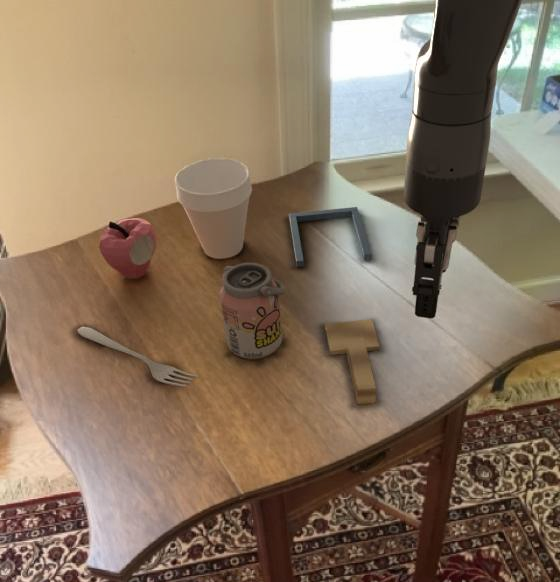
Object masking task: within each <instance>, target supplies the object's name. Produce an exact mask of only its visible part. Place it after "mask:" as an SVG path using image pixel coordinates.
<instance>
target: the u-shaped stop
mask: <svg viewBox="0 0 560 582" xmlns="http://www.w3.org/2000/svg"><path fill="white" fill-rule="evenodd" d="M341 218H342V219H343V218H351V219H352V224H353V226H354V231H355V233H356V237H357V241H358V244H359V248H360V251H361V254H362V258H363V261H371V260H372V252H371V248H370V246H369V241H368V238H367V235H366V232H365V228H364V225H363V221H362V219H361V215H360V213H359V209H358V206H351V207H342V208H341V207H340V208H333V209H323V210H312V211H311V210H310V211H301V212H292V213H288V219H289V226H290V233H291V239H292V245H293V246H292V247H293V252H294V257H295V264H296V268H304V267H305V260H304V254H303V249H302V243H301V237H300V230H299V224H298V223H301V222H310V221H321V220H329V219H331V220H332V219H341Z"/></svg>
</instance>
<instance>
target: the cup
mask: <svg viewBox="0 0 560 582" xmlns="http://www.w3.org/2000/svg"><path fill="white" fill-rule="evenodd" d="M251 180H252V179H251V171H250V168H249V167H248V166H247V164H245V163H243V162H241V161H240V160H237V159H233V158H227V157H214V158H205V159H201V160H197V161H195V162H192V163H189V164H187V165H185V166H184V167H182V168H181V169H180V170H179V171H178V172H177V173H176V175H175V177H174V185H175V189H176V190H175V191H176V198H177V201H178V203H179V204H180V205H181V206H182V208H183V209H184V211H185V213H186V215H187V217H188V220H189V222H190V224H191V226H192V228H193V230H194V233H195V235H196V236H197V239H198V241H199V244H200V245H201V248H202V250H203V252H204V253H205V255H206V256H208V257H210V258H212V259H215V260H216V259H218V260H223V259H228V258H232V257H235V256H236V255H238V254H239V253H241V251H242V250H243V247H244V239H245V234H246V233H245V232H246V226H247V225H246V224H247V216H248V209H249V202H250V197H251V196H252V195H251V194H252V192H253V186H252V181H251Z"/></svg>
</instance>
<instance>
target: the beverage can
mask: <svg viewBox="0 0 560 582" xmlns="http://www.w3.org/2000/svg"><path fill="white" fill-rule="evenodd" d="M272 276H273V275H272V272H271V270H270V269H269V268H268V267H267V266H266V265H264V264H261V263H257V262H242V263H238V264H235V265H233V266H231V265H227V266H224V267H223V268H222V279H221V281H222V286H221V288H220V289H219V294H218V295H219V296H218V298H219V303H220V305H219V306H220V310H221V316H222V321H223V327H224V334H225V340H226V344H227V347H228V349H229V350H230V352H232V353H233V354H234V355H235V356H237V357H240V358H242V359H245V360H250V361H251V360H260V359H264V358H267V357H270V355H272V354H274V353H275V352H276V351H277V350H279V348H280V346H281V344H282V342H283V327H282V326H283V325H282V318H281V316H282V315H281V303H280V296H282V295H285V294H286V293H287V288H286V285H285V284H284V283H282V282H281V281H279V280H278V279H275V278H274V277H272Z"/></svg>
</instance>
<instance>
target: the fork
mask: <svg viewBox="0 0 560 582" xmlns="http://www.w3.org/2000/svg"><path fill="white" fill-rule="evenodd" d="M77 333H78V335H80V336H81V337H82V338H85V339H87V340H90V341H93V342H95V343H97V344H100V345H103V346H104V347H108V348H110V349H112V350H116V351H119V352H121V353H123V354H127V355H130V356H132V357H135V358H137V359H139V360H141V361H142V362H144V364H146V365H147V366H148V368H149V370H150V373H151V376H152V377H153V379H154V380H156V381H157V382H160V383H162V384H166V385H167V384H168V385H173V386H177V387H183V388H187V387H188V385H186V384H189V385H191V384H192V382H191V381H193V382H195V381H196V379H195V378H199V375H196V374H192V373H190V372H186V371H183V370H181V369H178V368H176V367H174V366H171V365H167V364H163V363H157V362H155V361H153V360H151V359H150V358H148V357H146V356H144V355H143V354H141V353H138V352H136V351H134V350H132V349H129V348H128V347H126V346H124V345H122V344H120V343H119V342H117V341H115V340H113V339H111V338H109V337H108V336H106V335H104V334H102V333H101V332H99V331H97V330H96V329H93V328H92V327H88V326H81V327H79V328H78V329H77ZM179 373H180V374H179ZM181 374H182V375H181ZM184 375H185V376H184ZM188 376H189V377H188ZM192 377H193V378H192ZM179 378H180V379H179ZM183 379H184V380H183ZM168 380H169V381H168ZM186 380H187V381H186ZM188 380H189V381H188ZM173 381H174V382H173ZM177 382H178V383H177Z"/></svg>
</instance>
